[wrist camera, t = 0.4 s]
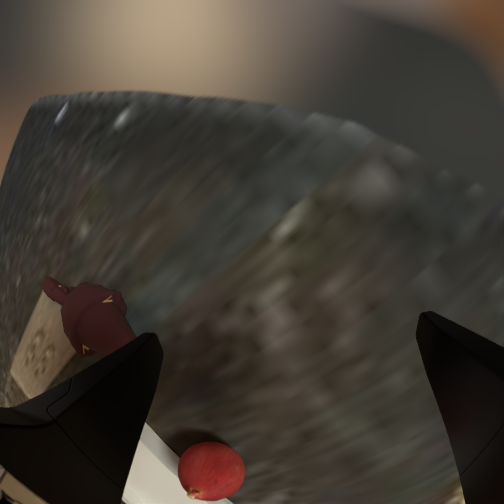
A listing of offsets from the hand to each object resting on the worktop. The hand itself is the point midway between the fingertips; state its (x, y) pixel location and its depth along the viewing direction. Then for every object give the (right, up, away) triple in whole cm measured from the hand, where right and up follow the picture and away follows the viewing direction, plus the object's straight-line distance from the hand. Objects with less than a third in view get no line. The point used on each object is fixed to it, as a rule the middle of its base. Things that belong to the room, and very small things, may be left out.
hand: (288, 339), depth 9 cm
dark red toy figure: (-15, -4, +18) cm, 24 cm away
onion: (-4, -16, +14) cm, 22 cm away
